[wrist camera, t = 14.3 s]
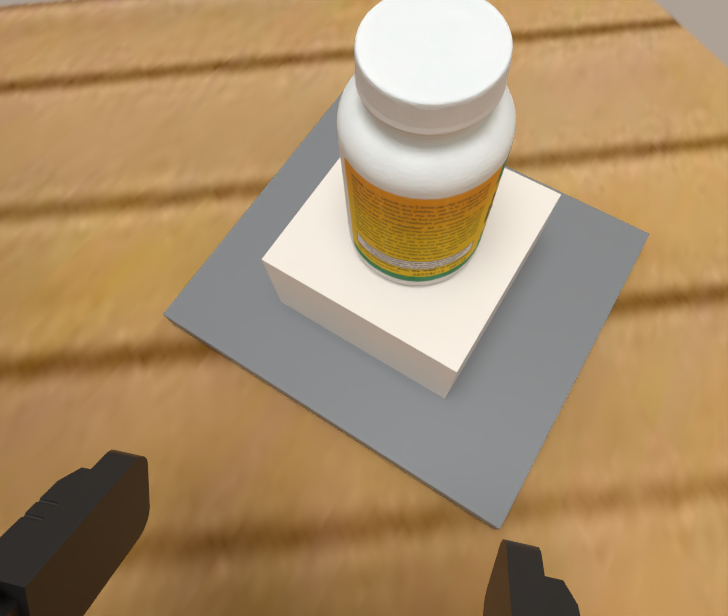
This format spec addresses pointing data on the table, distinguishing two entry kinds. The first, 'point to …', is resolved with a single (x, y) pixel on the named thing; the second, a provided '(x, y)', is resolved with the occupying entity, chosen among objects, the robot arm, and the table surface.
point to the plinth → (400, 301)
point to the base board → (391, 388)
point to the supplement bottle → (425, 134)
